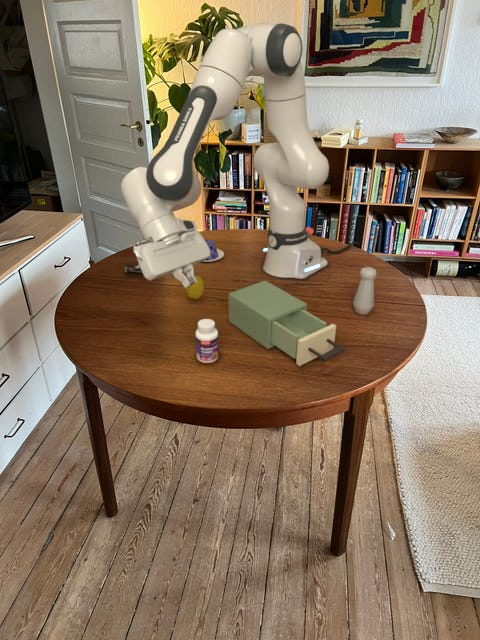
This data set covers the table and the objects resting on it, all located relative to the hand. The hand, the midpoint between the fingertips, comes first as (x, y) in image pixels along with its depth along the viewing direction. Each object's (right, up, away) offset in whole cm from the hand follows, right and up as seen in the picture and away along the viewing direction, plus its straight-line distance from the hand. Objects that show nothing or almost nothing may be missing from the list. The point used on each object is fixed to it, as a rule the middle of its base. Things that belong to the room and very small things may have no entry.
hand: (190, 285), depth 111 cm
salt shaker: (+46, -6, +20) cm, 51 cm away
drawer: (+27, -15, +3) cm, 31 cm away
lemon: (-1, -3, +26) cm, 26 cm away
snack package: (-19, +7, +42) cm, 47 cm away
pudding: (0, +14, +52) cm, 54 cm away
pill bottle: (+4, -18, +1) cm, 18 cm away
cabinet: (+19, -10, +13) cm, 25 cm away
